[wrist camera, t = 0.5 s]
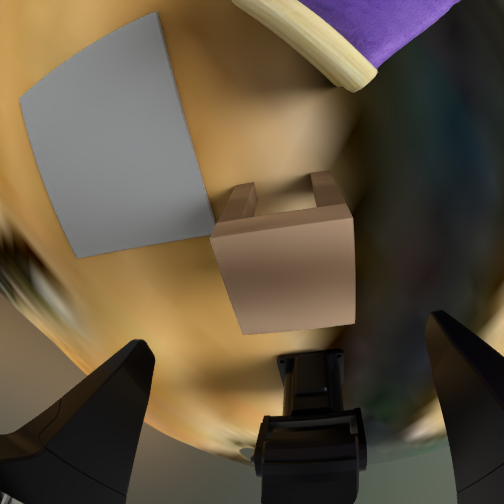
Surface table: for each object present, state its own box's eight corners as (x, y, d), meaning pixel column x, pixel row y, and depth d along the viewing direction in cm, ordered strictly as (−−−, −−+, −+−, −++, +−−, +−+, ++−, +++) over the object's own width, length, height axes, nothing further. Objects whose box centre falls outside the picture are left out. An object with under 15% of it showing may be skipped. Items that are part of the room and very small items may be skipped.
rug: (218, 231, 20) (217, 233, 19) (79, 256, 23) (77, 258, 22) (158, 12, 12) (155, 11, 12) (22, 97, 15) (19, 98, 14)
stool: (337, 252, 20) (354, 323, 14) (255, 263, 21) (242, 334, 15) (328, 170, 17) (353, 217, 11) (235, 185, 18) (209, 238, 12)
